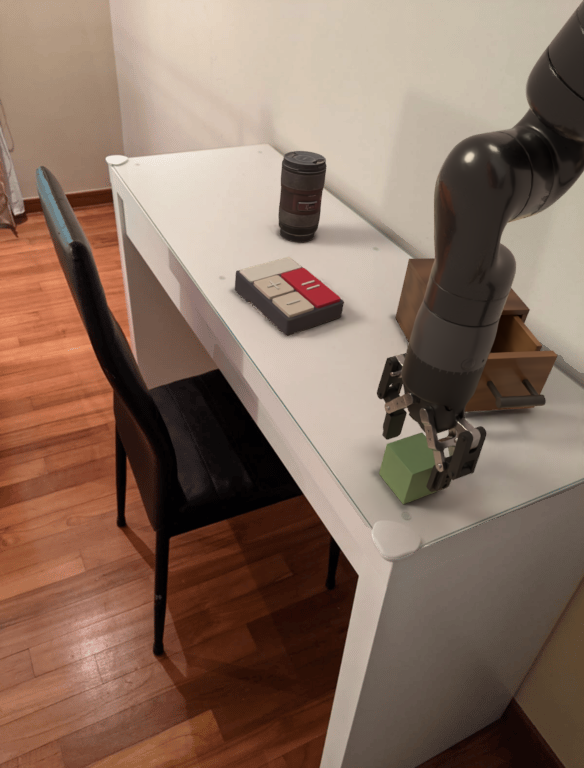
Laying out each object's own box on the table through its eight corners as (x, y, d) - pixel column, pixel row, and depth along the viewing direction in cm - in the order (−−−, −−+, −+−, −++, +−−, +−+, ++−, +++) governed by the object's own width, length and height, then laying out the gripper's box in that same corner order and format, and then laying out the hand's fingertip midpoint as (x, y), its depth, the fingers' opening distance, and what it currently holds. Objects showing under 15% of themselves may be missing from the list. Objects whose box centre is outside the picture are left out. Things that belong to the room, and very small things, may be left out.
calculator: (289, 316, 89) (234, 266, 98) (285, 339, 92) (233, 289, 100) (346, 297, 95) (290, 252, 103) (341, 320, 98) (287, 274, 106)
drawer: (550, 431, 79) (576, 378, 73) (469, 436, 77) (489, 382, 71) (492, 348, 92) (510, 298, 87) (421, 351, 90) (435, 300, 85)
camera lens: (323, 231, 121) (333, 155, 111) (309, 247, 115) (318, 168, 105) (285, 222, 123) (292, 146, 113) (270, 237, 117) (275, 159, 107)
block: (413, 461, 74) (422, 432, 71) (438, 491, 70) (449, 461, 67) (378, 473, 72) (386, 443, 69) (403, 504, 68) (412, 474, 65)
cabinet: (506, 370, 90) (530, 309, 83) (425, 374, 88) (443, 311, 81) (467, 315, 101) (485, 257, 94) (395, 317, 98) (408, 258, 92)
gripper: (530, 381, 55) (478, 496, 66) (434, 300, 65) (402, 412, 75) (466, 400, 52) (423, 518, 63) (376, 313, 62) (351, 428, 72)
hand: (412, 460), depth 69 cm, fingers open, 8 cm apart
